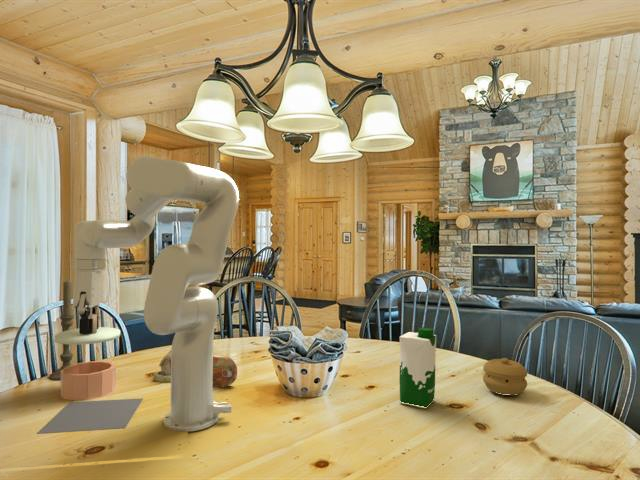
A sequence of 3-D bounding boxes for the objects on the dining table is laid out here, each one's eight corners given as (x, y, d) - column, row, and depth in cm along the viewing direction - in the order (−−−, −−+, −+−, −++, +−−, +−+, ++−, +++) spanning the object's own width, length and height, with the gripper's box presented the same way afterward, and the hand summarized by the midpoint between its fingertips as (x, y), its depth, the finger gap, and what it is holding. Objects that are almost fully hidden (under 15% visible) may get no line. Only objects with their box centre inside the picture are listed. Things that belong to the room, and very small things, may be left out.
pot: (484, 397, 119) (484, 361, 119) (481, 384, 130) (481, 351, 130) (530, 403, 115) (531, 366, 115) (523, 388, 126) (524, 355, 126)
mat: (143, 400, 113) (143, 398, 113) (125, 430, 96) (125, 427, 96) (69, 404, 110) (69, 402, 110) (36, 436, 92) (36, 433, 92)
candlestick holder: (52, 372, 135) (53, 278, 135) (85, 370, 139) (86, 277, 139) (45, 381, 127) (46, 281, 127) (80, 378, 130) (81, 280, 130)
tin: (192, 381, 129) (193, 353, 129) (200, 378, 132) (200, 351, 132) (231, 389, 122) (232, 360, 122) (238, 386, 125) (239, 357, 125)
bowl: (120, 384, 126) (120, 360, 126) (106, 400, 113) (106, 374, 113) (72, 386, 123) (72, 362, 123) (52, 403, 111) (53, 376, 111)
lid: (126, 330, 128) (127, 309, 128) (111, 343, 112) (111, 320, 112) (68, 331, 125) (68, 310, 125) (43, 345, 109) (44, 321, 109)
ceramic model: (174, 369, 141) (174, 339, 141) (204, 372, 138) (204, 341, 138) (146, 383, 128) (147, 349, 128) (179, 386, 125) (180, 352, 125)
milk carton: (428, 411, 108) (429, 333, 108) (395, 404, 113) (396, 328, 113) (438, 400, 116) (439, 327, 116) (406, 394, 121) (407, 323, 121)
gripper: (86, 263, 126) (85, 325, 126) (63, 267, 109) (61, 339, 109) (113, 263, 127) (112, 325, 127) (94, 267, 111) (93, 338, 111)
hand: (89, 330), depth 118 cm, fingers closed on lid, 4 cm apart
